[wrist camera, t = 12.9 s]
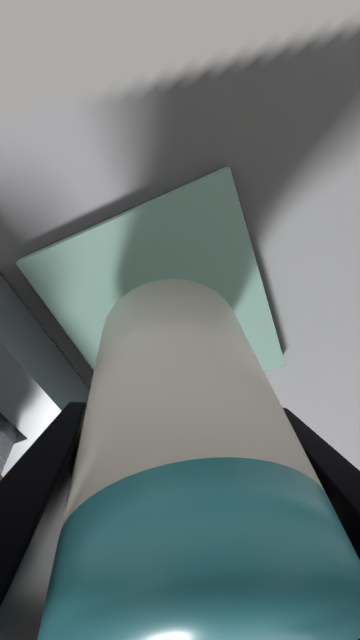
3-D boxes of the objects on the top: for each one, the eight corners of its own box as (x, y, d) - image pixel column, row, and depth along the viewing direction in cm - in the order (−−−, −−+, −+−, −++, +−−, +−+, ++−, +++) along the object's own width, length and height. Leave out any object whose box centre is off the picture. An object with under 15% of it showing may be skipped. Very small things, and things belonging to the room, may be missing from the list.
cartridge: (255, 288, 11) (454, 563, 4) (220, 396, 13) (304, 681, 6) (106, 269, 10) (18, 580, 3) (98, 388, 12) (40, 711, 5)
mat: (281, 358, 15) (285, 364, 15) (131, 413, 16) (130, 421, 16) (226, 166, 10) (230, 167, 10) (20, 258, 11) (15, 263, 11)
